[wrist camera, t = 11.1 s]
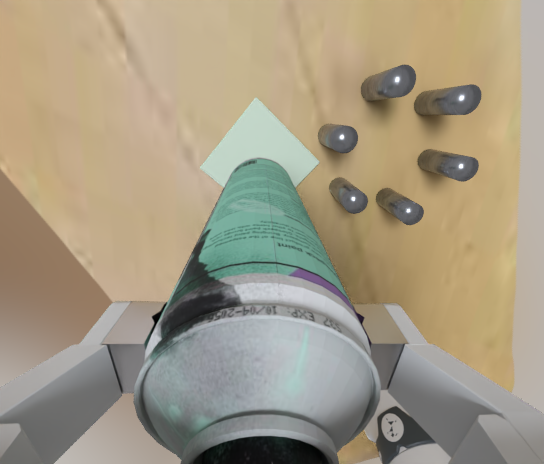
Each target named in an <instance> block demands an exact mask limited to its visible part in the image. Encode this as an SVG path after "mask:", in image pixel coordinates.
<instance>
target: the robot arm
mask: <svg viewBox="0 0 544 464" xmlns="http://www.w3.org/2000/svg"><path fill="white" fill-rule="evenodd" d="M167 303H168V302H150V301H115V302H113V303H112V304H111V305H110V306H109V307H108V309H107V310H106V311H105V313H104V314H103V315H102V317H100V319H99V320H98V321H97V323H96V324H95V325H94V326H93V327H92V329H91V330H90V331H89V333H88V334H87V335H86V337H85V338H84V339H83V340H82V341H81V343H80V344H79V345H72V346H70V347H68V348H67V349H65V350H63V351H62V352H60V353H58V354H56V355H55V356H53V357H51V358H50V359H48V360H46V361H45V362H43V363H41V364H39V365H38V366H36V367H34V368H32V369H31V370H29V371H27V372H26V373H24V374H23V375H21V376H19V377H17V378H16V379H14V380H12V381H10V382H9V383H7V384H5V385H3V386H2V387H0V464H54V463H55V462H56V461H57V460H58V459H59V458H60V457H61V456H62V455H63V454H64V453H65V452H66V451H67V450H68V449H69V448H70V446H72V445H73V444H74V443H75V442H76V441H77V440H78V439H79V438H80V437H81V436H82V435H83V434H84V433H85V432H86V431H87V430H88V429H89V428H90V427H91V426H92V425H93V424H94V423H95V422H96V421H97V420H98V419H99V418H100V417H101V416H102V415H103V414H104V413H105V412H106V411H107V410H108V409H109V408H110V407H111V406H112V405H113V404H114V403H115V402H116V401H117V400H118V399H119V398H120V397H121V396H122V394H123V393H134V386H135V383H136V381H137V378H138V376H139V373H140V371H141V368H142V366H143V364H144V362H145V351H146V348H147V346H148V343H149V340H150V338H151V335H152V333H153V331H154V329H155V327H156V325H157V323H158V321H159V319H160V317H161V315H162V313H163V311H164V309H165V307H166V305H167ZM352 306H353V309H354V311H355V313H356V315H357V317H358V319H359V321H360V323H361V325H362V327H363V329H364V331H365V333H366V335H367V338H368V342H369V346H370V350H371V358H372V360H373V362H374V364H375V366H376V368H377V371H378V375H379V379H380V383H381V391H380V401H379V404H378V406H377V409H376V412H375V414H374V416H373V417H372V419H371V420H370V422H369V423H368V425H367V426H366V427H365V429H364V430H365V433H366V435H367V437H368V439H369V440H371V441H373V442H375V443H376V446H377V449H378V452H379V457H380V459H381V462H382V463H383V464H544V414H543V413H542V412H541V411H539V410H537V409H536V408H534V407H533V406H531V405H529V404H528V403H526V402H525V401H523V400H522V399H520V398H518V397H517V396H515V395H514V394H512V393H510V392H509V391H507V390H506V389H504V388H502V387H501V386H499V385H498V384H496V383H495V382H493V381H491V380H490V379H488V378H487V377H485V376H483V375H482V374H480V373H479V372H477V371H475V370H474V369H472V368H471V367H469V366H468V365H466V364H464V363H463V362H461V361H460V360H458V359H456V358H455V357H453V356H452V355H450V354H448V353H447V352H445V351H444V350H442V349H441V348H439V347H437V346H436V345H434V344H428V343H427V341H426V340H425V339H424V337H423V336H422V334H421V333H420V332H419V330H418V329H417V328H416V326H415V325H414V324H413V322H412V321H411V320H410V318H409V317H408V316H407V314H406V313H405V312H404V310H403V309H402V308H401V306H400V305H398V304H397V303H380V304H352Z"/></svg>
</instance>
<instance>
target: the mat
mask: <svg viewBox="0 0 544 464" xmlns="http://www.w3.org/2000/svg"><path fill="white" fill-rule="evenodd" d="M257 157H261V158H268V159H271V160H273V161H275V162H277V163H278V164H280V165H281V166H282V167H283V168H284V169H285V170H286V171H287V173H288V175H289V176H290V178H291V180H292V183H293V185H294V187H296V186H297V185H298V184H299V183H300V182H301V181H302V180H303V179H304V178H305V177H306V176H307V175H308V174H309V173H310V172H311V171H312V170H313V169H314V168H315V167H316V166H317V165H318V164H319V161H318V160H317V159H316V158H315V157H314V156H313V155H312V154H311V153H310V152H309V150H308V149H307V148H306V147H305V146H304V145H303V144H302V143H301V142H300V141H299V140H298V139H297V138H296V137H295V136H294V135H293V134H292V133H291V132H290V131H289V130H288V129H287V128H286V127H285V126H284V125H283V124H282V123H281V122H280V121H279V120H278V119H277V118H276V117H275V116H274V115H273V114H272V113H271V112H270V111H269V110H268V109H267V108H266V107H265V106H264V105H263V104H262V103H261V102H260V100H259V99H258V98H257V97H256V98H255V99H254V100H253V102H252V103H251V104H250V105H249V107H248V108H247V109H246V110H245V112H244V113H243V114H242V115H241V117H240V118H239V119H238V120H237V122H236V123H235V124H234V125H233V127H232V128H231V129H230V130H229V132H228V133H227V134H226V136H225V137H224V138H223V139H222V141H221V142H220V143H219V144H218V146H217V147H216V148H215V149H214V151H213V152H212V153H211V154H210V156H209V157H208V158H207V159H206V161H205V162H204V163H203V164H202V166H201V167H200V169H202V170H203V171H204V172H205V173H207V174H208V175H209V176H210V177H211V178H213V179H214V180H215V181H216V182H217V183H219V184H220V185H221V186H222V187H223V188H224V187H225V185H226V183H227V181H228V179H229V177H230V175H231V173H232V172H233V170H234V169H235V168H236V167H237V166H238V165H239V164H240V163H242V162H244V161H245V160H248V159H251V158H257Z"/></svg>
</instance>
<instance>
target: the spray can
mask: <svg viewBox="0 0 544 464" xmlns="http://www.w3.org/2000/svg"><path fill="white" fill-rule="evenodd" d="M380 391H381V383H380V379H379V375H378V371H377V368H376V366H375V364H374V362H373V360H372V358H371V350H370V346H369V342H368V338H367V335H366V333H365V331H364V329H363V327H362V325H361V323H360V321H359V319H358V317H357V315H356V313H355V311H354V309H353V306H352V304H351V302H350V300H349V298H348V296H347V294H346V292H345V290H344V288H343V286H342V284H341V282H340V280H339V278H338V275H337V273H336V271H335V269H334V267H333V265H332V263H331V261H330V259H329V257H328V255H327V253H326V251H325V249H324V247H323V244H322V242H321V240H320V238H319V236H318V234H317V232H316V230H315V228H314V226H313V224H312V222H311V220H310V218H309V216H308V213H307V211H306V209H305V207H304V205H303V203H302V201H301V199H300V197H299V195H298V193H297V191H296V189H295V187H294V185H293V183H292V180H291V178H290V176H289V175H288V173H287V171H286V170H285V169H284V168H283V167H282V166H281V165H280V164H278V163H277V162H275V161H273V160H271V159H268V158H261V157H257V158H251V159H248V160H245V161H244V162H242V163H240V164H239V165H238V166H237V167H236V168H235V169H234V170H233V172H232V173H231V175H230V177H229V179H228V181H227V183H226V185H225V187H224V189H223V191H222V193H221V195H220V197H219V199H218V201H217V203H216V205H215V207H214V209H213V211H212V213H211V215H210V217H209V219H208V221H207V223H206V225H205V227H204V229H203V231H202V234H201V236H200V238H199V240H198V242H197V244H196V246H195V248H194V250H193V252H192V254H191V256H190V258H189V260H188V262H187V264H186V266H185V268H184V270H183V272H182V274H181V276H180V278H179V280H178V282H177V284H176V286H175V288H174V290H173V292H172V294H171V296H170V299H169V301H168V303H167V305H166V307H165V309H164V311H163V313H162V315H161V317H160V319H159V321H158V323H157V325H156V327H155V329H154V331H153V333H152V335H151V338H150V340H149V343H148V346H147V348H146V351H145V362H144V364H143V366H142V368H141V371H140V373H139V376H138V378H137V381H136V383H135V386H134V405H135V409H136V413H137V416H138V418H139V420H140V422H141V423H142V425H143V426H144V428H145V430H146V431H147V432H148V433H149V434H150V435H151V436H152V437H153V438H154V439H155V440H156V441H157V442H158V443H159V444H160V445H162V446H163V447H165V448H166V449H168V450H170V451H171V452H172V453H174V454H176V455H177V456H178V457H179V458H180V459H181V460H182V461H181V464H339V461H338V457H337V452H338V451H339V450H340V449H341V448H342V447H343V446H344V445H346V444H347V443H349V442H350V441H352V440H353V439H354V438H355V437H356V436H357V435H358V434H359V433H360V432H361V431H362V430H364V429H365V427H366V426H367V425H368V423H369V422H370V420H371V419H372V417H373V416H374V414H375V412H376V409H377V406H378V404H379V401H380Z"/></svg>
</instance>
